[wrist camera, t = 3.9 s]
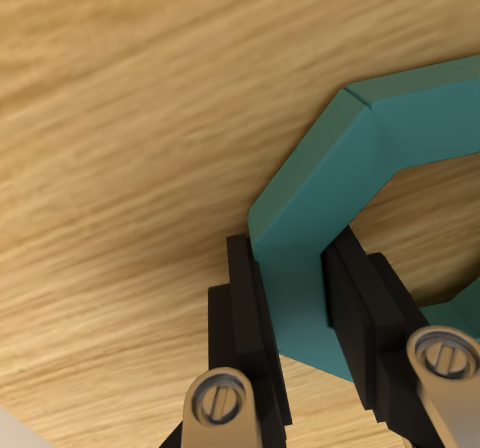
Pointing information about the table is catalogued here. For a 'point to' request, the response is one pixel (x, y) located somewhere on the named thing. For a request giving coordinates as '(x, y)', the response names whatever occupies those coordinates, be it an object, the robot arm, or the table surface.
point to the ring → (357, 195)
